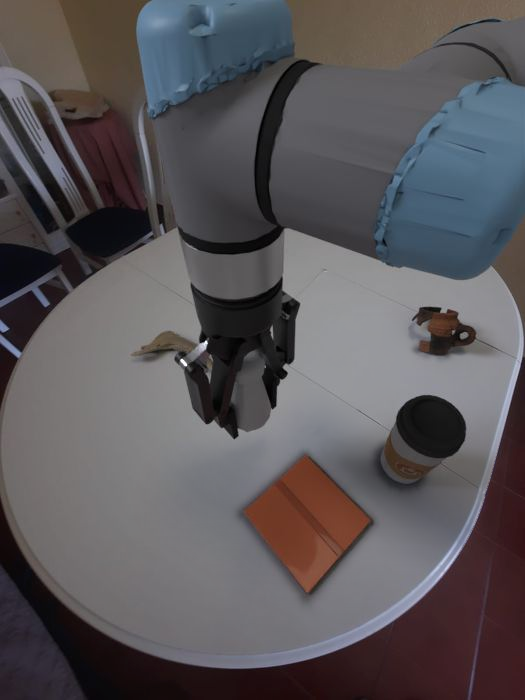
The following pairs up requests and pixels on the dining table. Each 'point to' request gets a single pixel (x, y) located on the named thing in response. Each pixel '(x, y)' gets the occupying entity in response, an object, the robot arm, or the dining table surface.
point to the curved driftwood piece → (170, 345)
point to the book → (307, 521)
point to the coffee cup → (422, 438)
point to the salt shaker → (251, 394)
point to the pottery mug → (443, 330)
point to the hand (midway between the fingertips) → (249, 415)
